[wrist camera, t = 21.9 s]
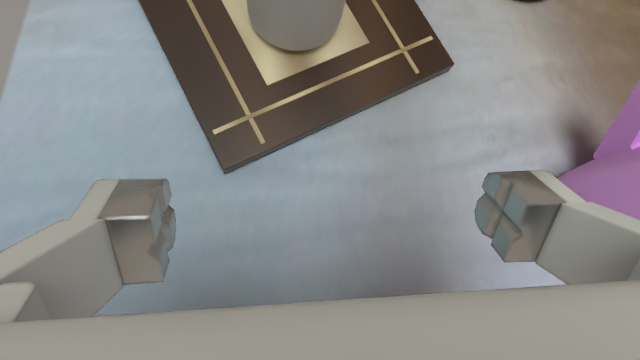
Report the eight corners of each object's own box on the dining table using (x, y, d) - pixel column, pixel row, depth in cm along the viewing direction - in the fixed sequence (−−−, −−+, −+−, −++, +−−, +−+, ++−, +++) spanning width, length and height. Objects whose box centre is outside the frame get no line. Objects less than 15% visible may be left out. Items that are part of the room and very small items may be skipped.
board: (225, 174, 25) (223, 170, 24) (127, -23, 28) (121, -35, 27) (448, 70, 29) (455, 63, 28) (346, -94, 32) (349, -107, 31)
